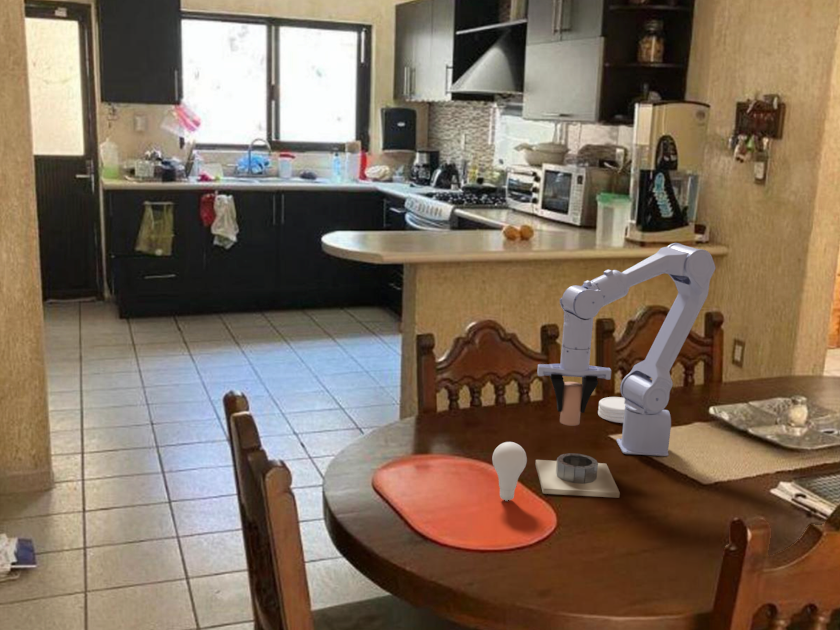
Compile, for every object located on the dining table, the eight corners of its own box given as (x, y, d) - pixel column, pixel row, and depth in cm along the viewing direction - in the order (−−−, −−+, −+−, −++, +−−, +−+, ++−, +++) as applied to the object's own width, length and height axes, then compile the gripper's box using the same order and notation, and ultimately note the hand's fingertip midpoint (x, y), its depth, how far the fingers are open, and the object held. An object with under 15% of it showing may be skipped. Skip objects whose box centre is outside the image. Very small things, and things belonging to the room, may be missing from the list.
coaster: (608, 407, 217) (609, 393, 216) (647, 416, 211) (648, 402, 210) (590, 417, 209) (591, 403, 208) (630, 427, 203) (632, 412, 202)
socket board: (605, 468, 178) (607, 449, 177) (619, 497, 164) (621, 477, 163) (535, 464, 178) (536, 445, 177) (543, 493, 164) (544, 473, 163)
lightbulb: (501, 510, 156) (505, 451, 154) (483, 496, 162) (486, 439, 159) (530, 504, 159) (534, 446, 157) (511, 491, 165) (515, 435, 162)
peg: (578, 419, 184) (581, 382, 182) (580, 426, 180) (584, 388, 178) (558, 418, 184) (561, 381, 182) (561, 425, 180) (564, 387, 178)
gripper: (608, 342, 182) (602, 406, 185) (537, 339, 183) (533, 402, 186) (615, 351, 175) (609, 417, 179) (541, 348, 176) (536, 413, 179)
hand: (570, 410), depth 182 cm, fingers closed on peg, 4 cm apart
